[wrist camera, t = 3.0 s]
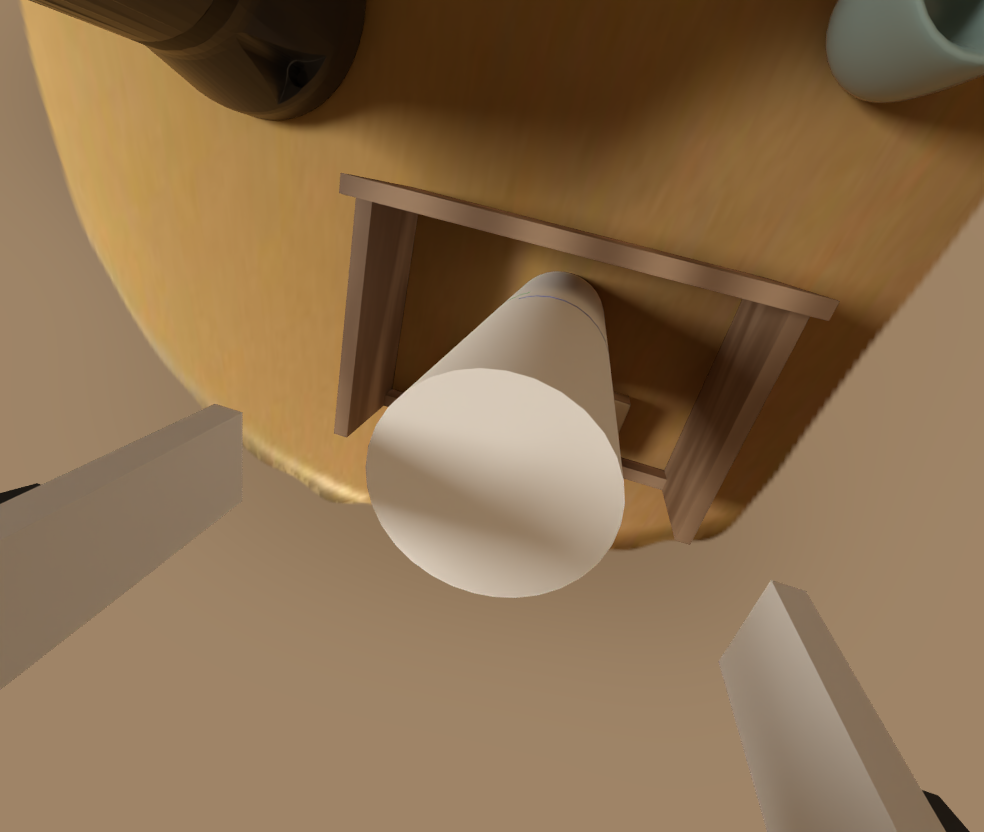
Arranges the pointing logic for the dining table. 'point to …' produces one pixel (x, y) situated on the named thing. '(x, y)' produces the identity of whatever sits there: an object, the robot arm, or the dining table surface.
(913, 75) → the cup
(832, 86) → the dining table surface
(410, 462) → the cylindrical container
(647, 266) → the rack
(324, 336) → the dining table surface
